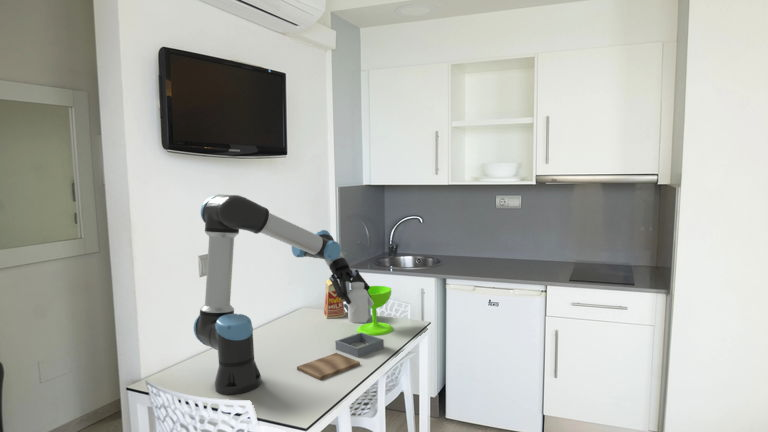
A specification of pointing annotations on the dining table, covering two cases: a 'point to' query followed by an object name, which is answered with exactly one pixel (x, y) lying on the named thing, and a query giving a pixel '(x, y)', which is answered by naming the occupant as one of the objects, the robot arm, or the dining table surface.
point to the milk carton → (333, 302)
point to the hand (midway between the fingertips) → (363, 307)
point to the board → (328, 366)
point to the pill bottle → (358, 303)
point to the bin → (371, 346)
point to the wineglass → (379, 299)
